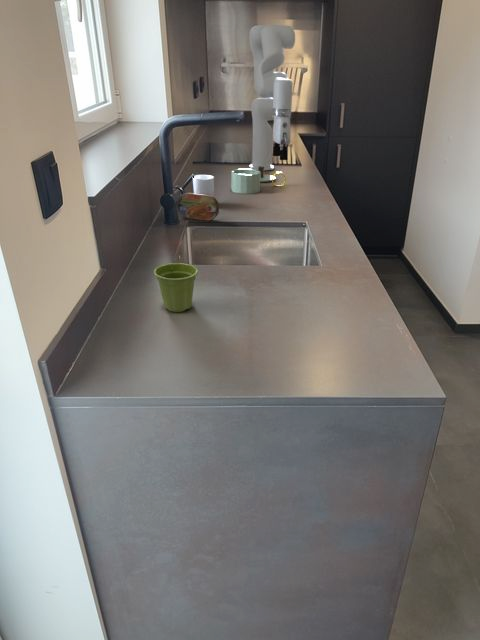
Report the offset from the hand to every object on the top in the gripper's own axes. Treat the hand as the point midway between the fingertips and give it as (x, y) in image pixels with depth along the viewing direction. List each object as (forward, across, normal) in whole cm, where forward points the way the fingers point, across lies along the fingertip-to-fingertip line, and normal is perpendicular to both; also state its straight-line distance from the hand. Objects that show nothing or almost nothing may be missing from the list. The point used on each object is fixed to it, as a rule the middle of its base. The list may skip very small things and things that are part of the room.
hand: (279, 157), depth 210 cm
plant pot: (+14, -108, +58) cm, 124 cm away
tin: (+13, -42, +42) cm, 60 cm away
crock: (+12, -4, +16) cm, 20 cm away
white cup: (+12, -24, +37) cm, 45 cm away
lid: (+11, +14, +4) cm, 18 cm away
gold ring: (+12, 0, 0) cm, 12 cm away
